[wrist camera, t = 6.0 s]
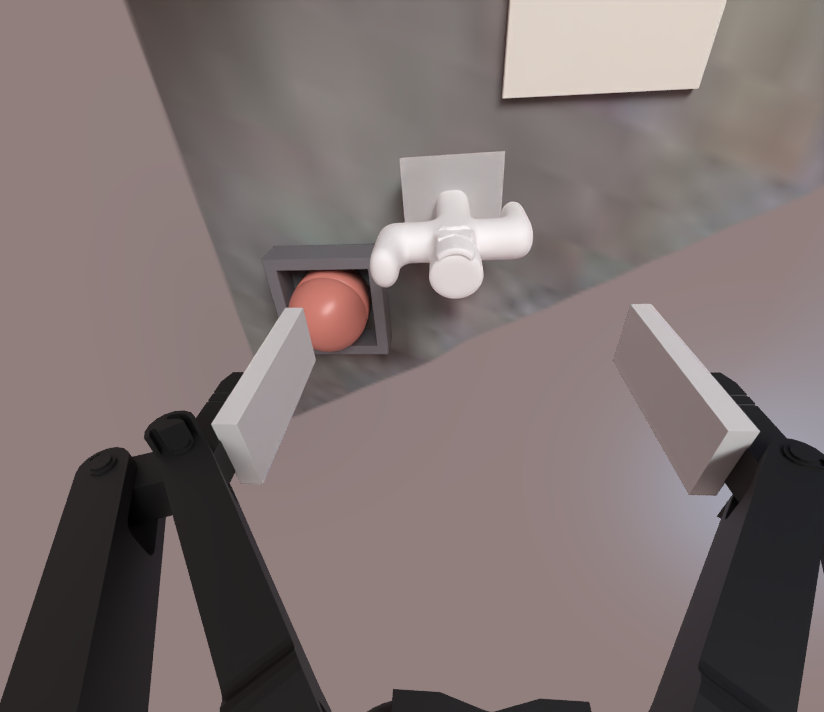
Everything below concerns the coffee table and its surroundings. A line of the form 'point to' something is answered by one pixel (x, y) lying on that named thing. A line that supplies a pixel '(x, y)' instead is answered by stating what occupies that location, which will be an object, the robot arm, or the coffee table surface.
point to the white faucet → (452, 222)
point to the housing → (330, 258)
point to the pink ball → (333, 307)
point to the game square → (607, 45)
